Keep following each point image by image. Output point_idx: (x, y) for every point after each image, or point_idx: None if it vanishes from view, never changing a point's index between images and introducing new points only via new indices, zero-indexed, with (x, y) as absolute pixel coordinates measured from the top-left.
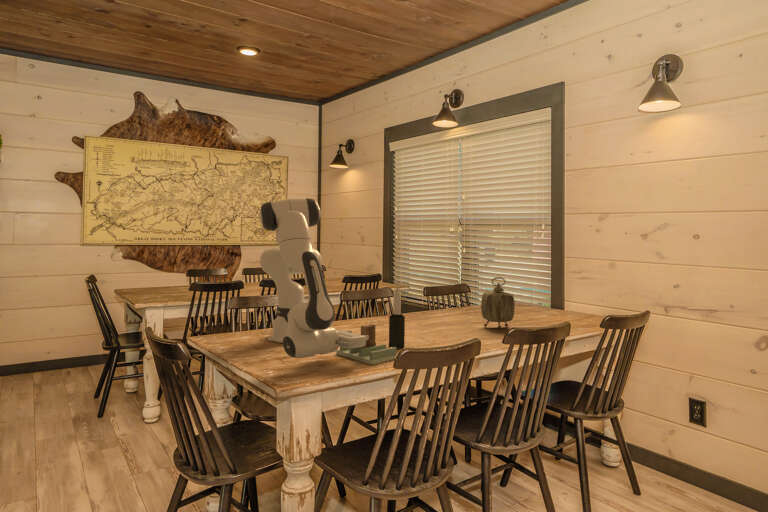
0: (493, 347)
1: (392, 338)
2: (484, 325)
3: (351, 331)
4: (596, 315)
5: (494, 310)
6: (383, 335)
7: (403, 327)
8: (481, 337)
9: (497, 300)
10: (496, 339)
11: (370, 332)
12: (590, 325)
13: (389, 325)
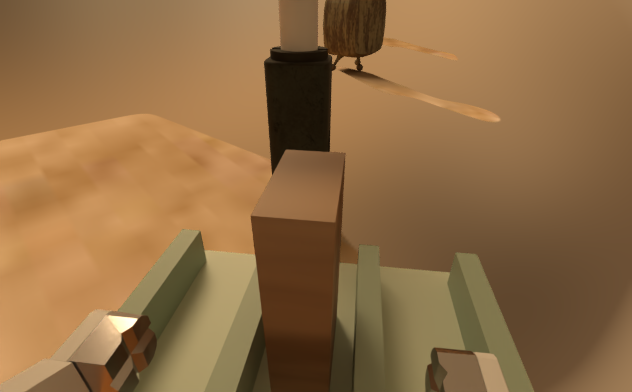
0: (480, 114)
1: None
2: (332, 67)
3: (142, 318)
4: (390, 38)
5: (361, 32)
6: (167, 140)
7: (330, 109)
8: (387, 93)
9: (366, 9)
10: (420, 92)
11: (338, 235)
12: (428, 49)
13: (275, 113)
